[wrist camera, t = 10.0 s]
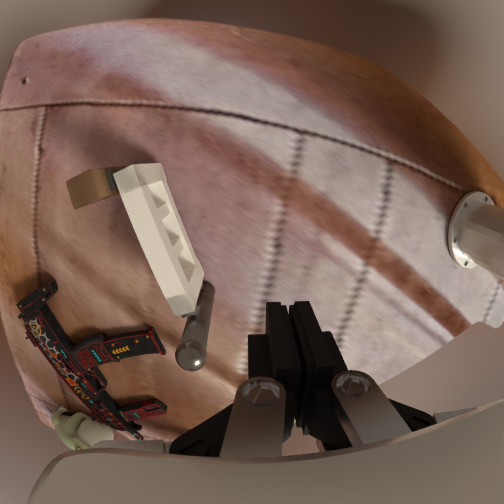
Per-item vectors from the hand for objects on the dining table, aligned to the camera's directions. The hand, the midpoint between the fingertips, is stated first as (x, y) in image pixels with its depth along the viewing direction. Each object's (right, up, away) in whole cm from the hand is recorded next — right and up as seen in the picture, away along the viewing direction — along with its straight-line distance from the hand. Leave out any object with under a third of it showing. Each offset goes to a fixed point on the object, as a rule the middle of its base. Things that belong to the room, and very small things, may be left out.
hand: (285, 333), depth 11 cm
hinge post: (-7, -2, +25) cm, 26 cm away
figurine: (-37, -33, +34) cm, 60 cm away
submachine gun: (-25, -16, +29) cm, 41 cm away
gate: (-10, +6, +21) cm, 24 cm away
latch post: (-15, +12, +20) cm, 28 cm away
